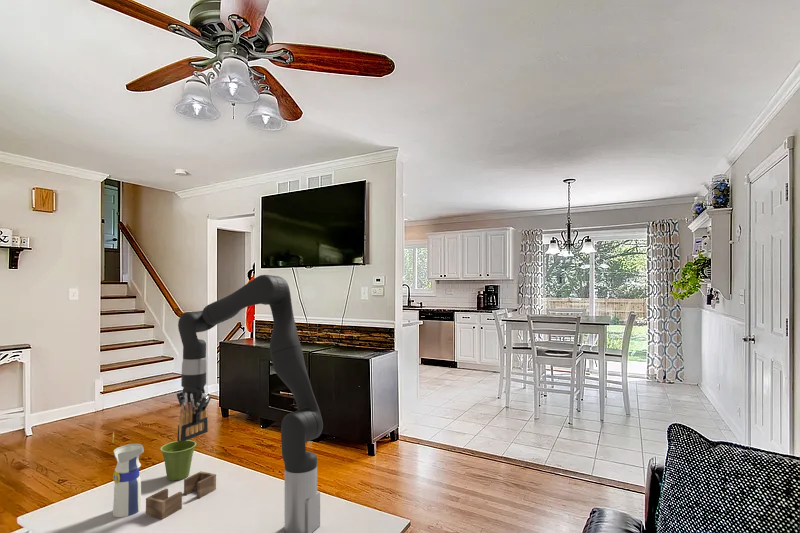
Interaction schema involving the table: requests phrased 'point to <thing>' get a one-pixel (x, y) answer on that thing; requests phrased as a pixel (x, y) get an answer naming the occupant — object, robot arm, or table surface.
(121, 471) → the water bottle
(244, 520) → the table surface
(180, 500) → the end cap
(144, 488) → the table surface
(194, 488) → the end cap
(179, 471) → the plant pot
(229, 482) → the table surface
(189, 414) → the ammunition clip
